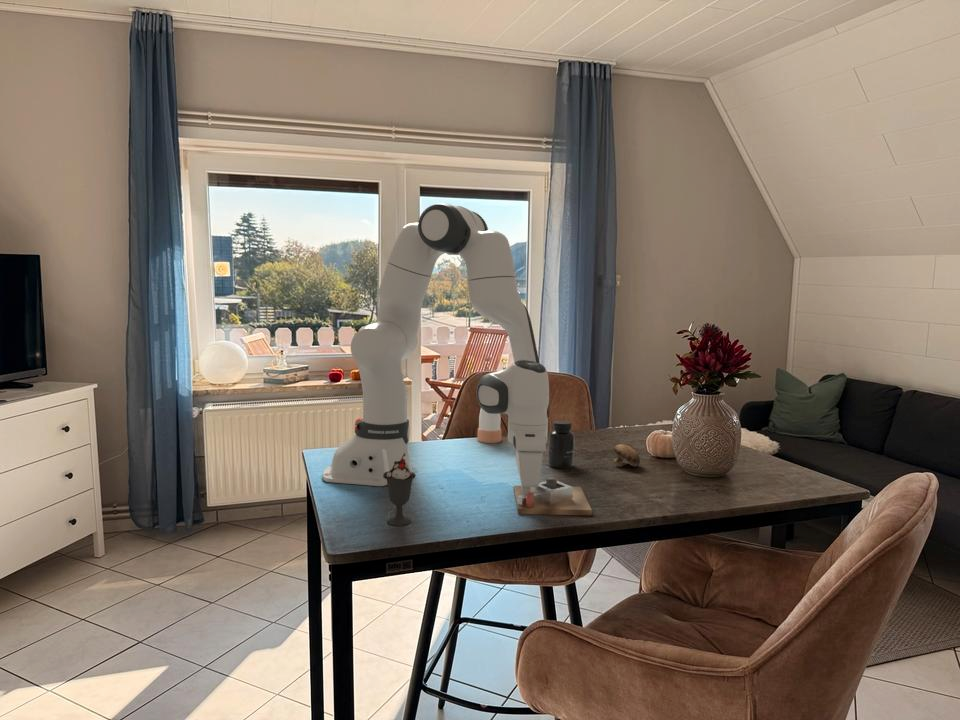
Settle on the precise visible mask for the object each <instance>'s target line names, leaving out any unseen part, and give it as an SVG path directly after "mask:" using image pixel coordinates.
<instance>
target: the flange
mask: <svg viewBox="0 0 960 720" xmlns="http://www.w3.org/2000/svg"><path fill="white" fill-rule="evenodd" d="M573 487H574V486H571V485H569V484H567V483H564V482H561V481H560V480H557V488H556V489H550V488H547V487H546V480H545V481H541V482H540V481H539V484H538V486H537V487H533V493H534V501H533V504H535V503H540V502H545V503H547V504H549V505H552V504H556V503H561V502H566V501H571V500H573ZM517 504H519V505H521V506H525V505H526V494H524V495H519V496H517Z"/></svg>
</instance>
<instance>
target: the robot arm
mask: <svg viewBox="0 0 960 720" xmlns="http://www.w3.org/2000/svg"><path fill="white" fill-rule="evenodd" d="M510 245H511V244H510V242H509V239H508V238H507V236H506V235H505V234H503V233H501V232H499V231H496V230H489V227H488V224H487V223H486V221H485V219H484V218H483V217H482V216H481V214H479V213H478V212H475V211H472V210H470V209H468V208H466V207H463V206H461V205H452V204H450V203H441V202H439V203H435V204H432V205H429V206H428V207H426V208H425V209H424V210H423V211H422V213H421V214H420V217H419V219H418V222H410V223H407V224H405V225H404V226H403V227H402V228H401V230H400V232H399V233H398V235H397V236H396V239H395V241H394V244H393V246H392V248H391V251H390V252H389V256H388V260H387V262H386V266H385V269H384V271H383V275H382V279H381V281H380V285H379V288H378V294H377V295H378V299H379V301H378V302H379V303H378V313H377V318H376V321H375V322H372V323H369V324H366V325H364V326H363V327H361V328H360V329H359V330H358V331H357V332H356V333H355V334H354V336H353V337H352V339H351V342H350V353H351V356H352V358H353V360H354V361H355V363H356V365H357V369H358V372H359V378H360V383H361V389H362V417H357V419H356V420H355V422H354V435H352V437H350V438H349V439H347V440H346V441H345V442H343V443H342V444H341V445H340V446H338V447H337V449H336V450H335V451H334V453H333V456H332V460H331V464H330V465H328V466H327V467H325V469H323V472H322V480H323V481H324V482H325V483H326V482H327V483H337V484H347V485H348V484H349V485H361V486H371V487H372V486H374V487H384V486H388V484H387V480H386V479H385V478H383V474H384V473H385V472H387V471H390V470H391V469H392V467H393V464H394V462H395V461H400V460H401V459H402V456H403V455H404V453H405V456H404V457H403V459H405V462H406V463H407V464H408V467H409V470H411V472H413V473H414V471H413V467H412V463H411V458H410V451H409V449H410V448H409V443H410V430H411V429H410V428H411V427H410V420H409V419H408V404H409V403H408V397H409V395H408V387H407V386H406V384H405V381H404V376H403V370H402V362H403V361H405V360H406V359H408V358H409V357H410V356H411V355H412V354H413V353H414V351H415V349H416V348H417V345H418V331H419V326H420V324H419V323H420V317H421V311H422V307H423V303H424V299H425V296H426V293H427V290H428V287H429V285H430V281H431V278H432V276H433V275H432V274H433V272H434V269H435V265H436V263H437V262H438V259H439V258H440V257H441V256H442V255H443V254H447V255H450V256H451V255H452V256H453V255H454V256H455V255H456V256H460V257H461V258H462V259H463V260H464V261H463V262H464V263H465V266H466V276H467V277H466V279H467V290H468V298H469V301H470V303H471V304H470V305H471V307H472V308H473V310H475V311H476V313H477V314H478V315H480V316H481V317H483V318H485V319H487V320H489V321H491V322H493V323H496V325H499V326H500V327H501V328H502V329H503V330H504V331H505V332H506V333H507V336H508V338H509V344H510V349H511V353H512V357H513V363H511V365H510V366H508V367H506V368H503V369H502V370H498V371H493V372H489V373H487V374H484V375H483V376H482V377H480V379H479V380H478V382H477V385H476V393H475V395H476V400H477V402H478V405H479V406H480V409H481V408H482V409H483V410H484V411H485V412H487V413H491V414H500V415H501V414H506V415H507V416H508V418H507V419H508V421H507V425H508V426H507V442H508V443H509V444H511V445H512V450H514V451H515V462H516V463H515V464H516V467H517V470H518V471H517V472H518V475H519V480H520V484H521V485H520V486H521V491H522V495H524V494H526V493H528V492H530V489H531V487H537V486H538V484H539V483H540V478H541V471H542V465H543V454H544V452H546V449H547V446H546V445H547V443H548V437H549V436H548V433H549V431H548V430H549V429H548V428H549V419H548V413H547V411H548V406H549V403H550V381H549V374H548V371H547V368H546V366H544V365H543V364H542V363H541V362H540V359H539V353H538V350H537V345H536V340H535V339H536V338H535V334H534V330H533V325H532V321H531V317H530V313H529V310H528V308H527V306H526V305H525V304H524V303H523V300H522V299H521V297H520V293H519V291H518V286H517V282H516V281H517V280H516V271H515V263H514V258H513V254H512V253H513V252H512V250H511V246H510Z"/></svg>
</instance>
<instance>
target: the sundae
mask: <svg viewBox="0 0 960 720" xmlns="http://www.w3.org/2000/svg"><path fill="white" fill-rule="evenodd" d="M404 456H405V453H404V455H403V456H402V459H401V460H400V461H395V462H394V464H393V467H392V469H391V470H390V471H387V472H385V473H384V474H383V478H385V479H386V480H387V484H388V485H387V491H388V498H389V501H390V502H391V503H392V504H393V505H394V506H395V507H396V511H395V516H393V517H389V518H388V519H387V524H388V525H390V526H395V527H403V526H408V525H409V524H411V523H412V519H410V518H409V517H405V516H404V515H403V506H404V505H405V504H406V503H407V502H409V499H410V495H411V489H412V483H413V480H414V479H415V478H416V476H417V475H416V474H415V472H414V471H413V472H411V470H409V467H408V464H407V463H406V462H405V459H403V457H404Z"/></svg>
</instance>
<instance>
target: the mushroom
mask: <svg viewBox="0 0 960 720" xmlns="http://www.w3.org/2000/svg"><path fill="white" fill-rule="evenodd" d="M613 452H614V454H616V458H614V459H613V463H614V464H615V465H616V466H617V467H619V468H620V467H621V468H622V467H623V466H625V465H630V466H631V467H638V466H639V465H640V462H641V461H640V460H641V458H640V455H639V453H638V452H637V451H636V449H634V448H632V447H631V446H629V445H628V444H627V445H626V444H624V443H620V444H615V446H614V447H613Z"/></svg>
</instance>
